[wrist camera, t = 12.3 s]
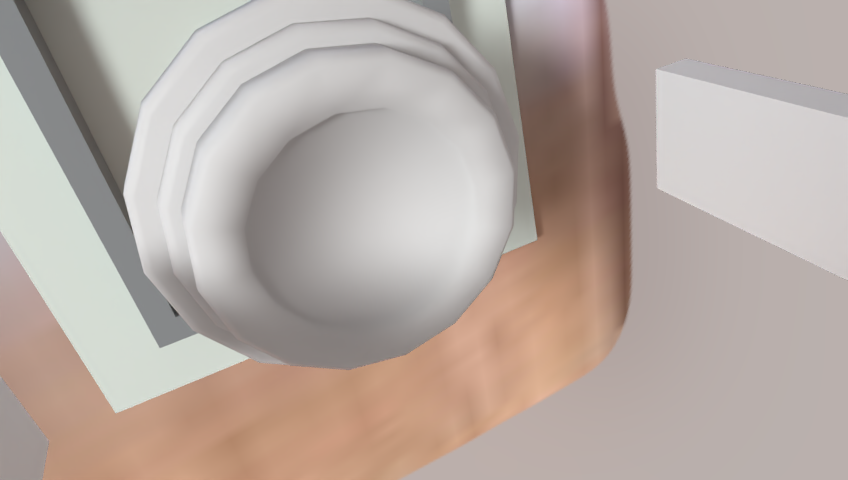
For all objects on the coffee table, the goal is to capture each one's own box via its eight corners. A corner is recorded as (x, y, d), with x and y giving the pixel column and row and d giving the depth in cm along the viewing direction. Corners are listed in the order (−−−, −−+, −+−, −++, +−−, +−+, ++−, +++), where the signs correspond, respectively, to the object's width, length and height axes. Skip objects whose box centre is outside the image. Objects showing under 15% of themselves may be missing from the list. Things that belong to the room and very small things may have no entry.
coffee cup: (373, 220, 26) (515, 390, 16) (135, 220, 22) (126, 440, 12) (403, -9, 23) (605, 23, 13) (130, -54, 19) (110, -59, 9)
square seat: (-233, -152, 16) (-280, -165, 14) (459, -275, 21) (488, -296, 19) (116, 404, 26) (113, 438, 24) (531, 235, 30) (554, 252, 29)
